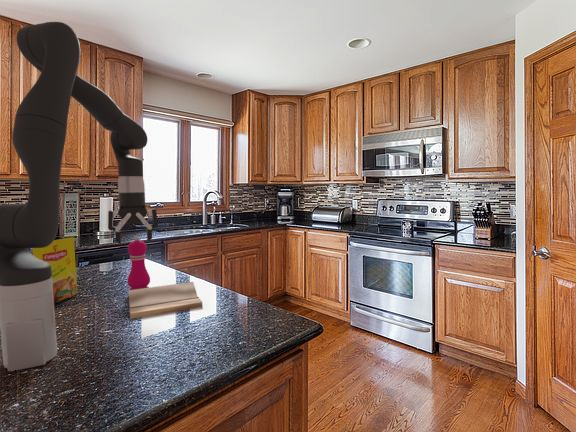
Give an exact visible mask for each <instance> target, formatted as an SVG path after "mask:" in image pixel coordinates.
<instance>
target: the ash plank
mask: <svg viewBox="0 0 576 432" xmlns="http://www.w3.org/2000/svg"><path fill="white" fill-rule="evenodd" d="M194 297H199V296H198V293H197V290H196V287H195V282H194V281H191V282H189V281H188V282H183V283H182V282H181V283H174V284H166V285H159V286H158V285H157V286H152V287H149V288H143V289H135V290H130V289H129V290H128V301H129V307H136V306H142V305H148V304H155V303H161V302H168V301H174V300H181V299H187V298H194Z"/></svg>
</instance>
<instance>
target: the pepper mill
mask: <svg viewBox="0 0 576 432" xmlns="http://www.w3.org/2000/svg"><path fill="white" fill-rule="evenodd" d="M140 239H141V238H140V236H137V235H135V236H134V237H133V241H131V242H130V243H129V244H128V245H127V251H128V253H129V254H130V255H129V260H130V262H131V266H130V267H131V268H130V271H129V274H128V277H127V281H126V282H127V285H128V287H130V288H129V290H135V289H143V288H150V287H149V284H150V282H151V277H150V274H149V272H148V270H147V269H146V268H147V267H146V263H145V260H146V258H147V257H146V254H145V253H146V251H147V250H148V249H147V248H148V247H147V244H146V242H144V241H143V240H140Z"/></svg>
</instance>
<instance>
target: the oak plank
mask: <svg viewBox="0 0 576 432" xmlns="http://www.w3.org/2000/svg"><path fill="white" fill-rule="evenodd" d="M202 307H203V300H201V298H200V296H198V297H194V298H187V299H181V300H174V301H168V302H161V303H155V304H148V305H142V306H136V307H130V306H129V317H130V319H131V320H132V319H138V318H144V317H149V316H154V315H161V314H167V313H174V312H179V311H185V310H190V309H191V310H192V309H197V308H202Z"/></svg>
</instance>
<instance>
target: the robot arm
mask: <svg viewBox="0 0 576 432" xmlns="http://www.w3.org/2000/svg"><path fill="white" fill-rule="evenodd" d="M16 43H17V47H18V49H19V51H20V53H21V55H22V56H23V57H24V58H25V59H26V60H27V62H28V63H30V64H31V65H32V67H34V68H35V69H36V70H37V71H39V72H40V74H39V76H38V79H37V80H36V81H35V83H34V85H33V86H31V89H30V90H29V91H28V92H27V93H26V95H25V96H24V97H23V99H22V101H21V102H20V104H19V105H18V107H17V109H16V113H15V116H14V124H13V129H12V137H11V138H12V139H11V140H12V144H13V147H14V149H15V152H16V154H17V156H18V158H19V160H20V161H21V163H22V165H23V167H24V169H25V171H26V173H27V176H28V181H29V182H28V183H29V184H28V187H29V188H28V197H27V202H26V203H3V204H0V339H1V340H0V341H1V342H0V343H1V349H2V350H1V352H2V362H3V368H4V369H6V368H7V372H8V371H11V372H15V370H16V371H20V370H25V369H30V368H35V367H40V366H45V365H46V363H48V362H49V361H50V360H53V359H54V358H55V357H56V356H57V354H58V344H57V332H56V329H57V328H56V317H55V303H54V298H53V282H52V269H51V265H50V264H49V263H47V262H44V261H42V260H40V259H38V258H36V257H34V256H33V253H31V251H30V249H33V248H43V247H47V246H49V245H50V244H51V243H52V242H53V241H54V240H56V237H57V234H58V230H59V224H60V196H61V195H60V193H61V192H60V187H61V186H60V185H61V176H62V175H61V173H62V163H63V155H64V149H65V143H66V137H67V129H68V128H67V127H68V117H69V110H70V105H71V104H70V103H71V99H72V98H73V99H74V100H75V101H77V102H78V103H79V104H80V105H81V106H82V107H83V108H84V109H85V110H86V111H88V113H89V114H90V115H91V116H92V117H93V118H94V119H95V120H96V121H97V122H98V124H99V125H100V126H101V127H102V128H103V129H105V130H106V131H110V132H111V133H110V139H109V140H110V145H111V148H112V151H113V154H114V156H115V159H116V162H117V168H118V169H117V174H118V181H117V190H118V206H119V207H118V210H108V213H107V214H108V215H107V219H108V220H107V222H108V223H107V226H108V227H107V228H108V231H111V232H114V236H115V237H114V239H115V242H116V243H117V244H119V245H121V244H122V243H121V242H122V241H121V229H122V228H123V227H124V226H125V224H129V225H130V224H131V225H133V224H140V223H142V224H143V225H144V226H145V228H146V241H147V242H151V240H153V229H155V228H158V226H159V225H158V214H157V210H156V209H155V208H152V209H147V206H146V193H145V191H146V190H145V189H146V188H145V180H144V168H143V167H144V166H143V160H142V159H141V158H139V157H135V156H132V154H131V152H130V151H131V150H132V151H133V150H134V151H135V150H142V149H144V148H145V147H146V146H147V144H148V135H147V133H146V131H145V129H144V128H143V127H142V126H141V125H140V124H139V123H138V122H136V121H135V120H134V119H132V118H131V117H130V116H129V115H127V114H125V113H124V112H123V111H122V109H121V108H120V107H119V106H118V105H117V104H116V102H115V101H114V100H113V98H111V97H110V96H109V95H108V94H107V93H106V92H105V91H103V90H102V89H100V88H99V87H97V86H95V85H94V84H92V83H90V82H89V81H87V80H85V79H84V78H82V77H81V76H80V75H78V74H77V73H78V69H79V65H80V60H81V44H80V40H79V38H78V36H77V34H76V32H75V31H74V29H73V28H72V27H71V26H69V25H68V24H67V23H64V22H62V21H46V22H42V23H37V24H31V25H26V26H24V27H21V28H20V29H19V30H18V32H17V33H16ZM71 97H72V98H71ZM148 214H149V216H151V220H152V222H151V223H149V222H148V220H146V218H145V217H146V215H148ZM117 215H118V216H119V217H120V218H121V219H120V221H119V222H118V224H116V226H114V218H116V216H117Z"/></svg>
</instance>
